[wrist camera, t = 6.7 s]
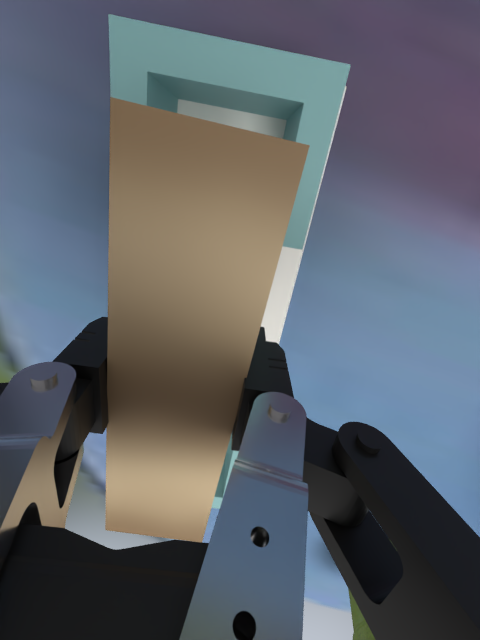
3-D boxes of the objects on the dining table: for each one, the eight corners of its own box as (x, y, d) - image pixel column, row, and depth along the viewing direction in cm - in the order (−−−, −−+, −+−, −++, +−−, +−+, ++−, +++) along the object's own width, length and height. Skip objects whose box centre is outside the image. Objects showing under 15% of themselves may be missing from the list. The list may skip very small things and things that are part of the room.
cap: (153, 61, 14) (108, 14, 9) (318, 94, 14) (350, 64, 10) (149, 202, 16) (113, 217, 12) (287, 226, 17) (302, 249, 12)
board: (133, 48, 14) (125, 41, 13) (340, 91, 15) (346, 86, 14) (132, 461, 28) (128, 471, 27) (241, 474, 28) (241, 485, 27)
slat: (160, 121, 8) (109, 96, 5) (286, 151, 9) (309, 145, 5) (136, 449, 14) (105, 530, 11) (211, 460, 14) (201, 542, 11)
